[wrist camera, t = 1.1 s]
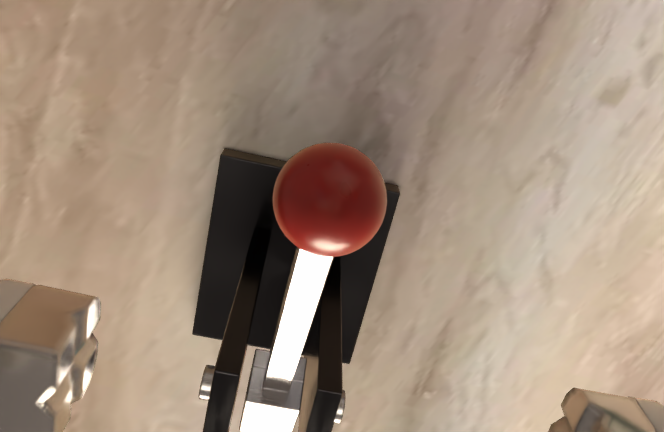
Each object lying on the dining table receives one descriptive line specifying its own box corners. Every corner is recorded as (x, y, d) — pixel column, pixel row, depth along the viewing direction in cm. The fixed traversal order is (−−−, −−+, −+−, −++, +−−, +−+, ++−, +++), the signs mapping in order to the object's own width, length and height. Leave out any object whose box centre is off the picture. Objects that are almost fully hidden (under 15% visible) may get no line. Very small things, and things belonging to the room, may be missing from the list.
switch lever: (290, 108, 17) (272, 187, 15) (401, 133, 17) (400, 214, 15) (239, 369, 28) (224, 437, 25) (308, 382, 28) (299, 451, 26)
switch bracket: (224, 147, 34) (157, 272, 21) (398, 185, 35) (434, 326, 22) (196, 323, 39) (128, 509, 26) (349, 352, 39) (355, 546, 27)
